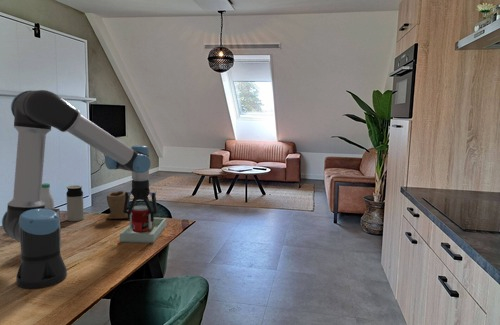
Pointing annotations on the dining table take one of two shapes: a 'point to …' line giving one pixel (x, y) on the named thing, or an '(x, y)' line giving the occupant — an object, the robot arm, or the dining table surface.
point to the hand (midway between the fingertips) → (141, 227)
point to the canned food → (140, 219)
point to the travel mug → (75, 203)
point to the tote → (145, 237)
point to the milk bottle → (47, 196)
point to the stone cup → (116, 205)
